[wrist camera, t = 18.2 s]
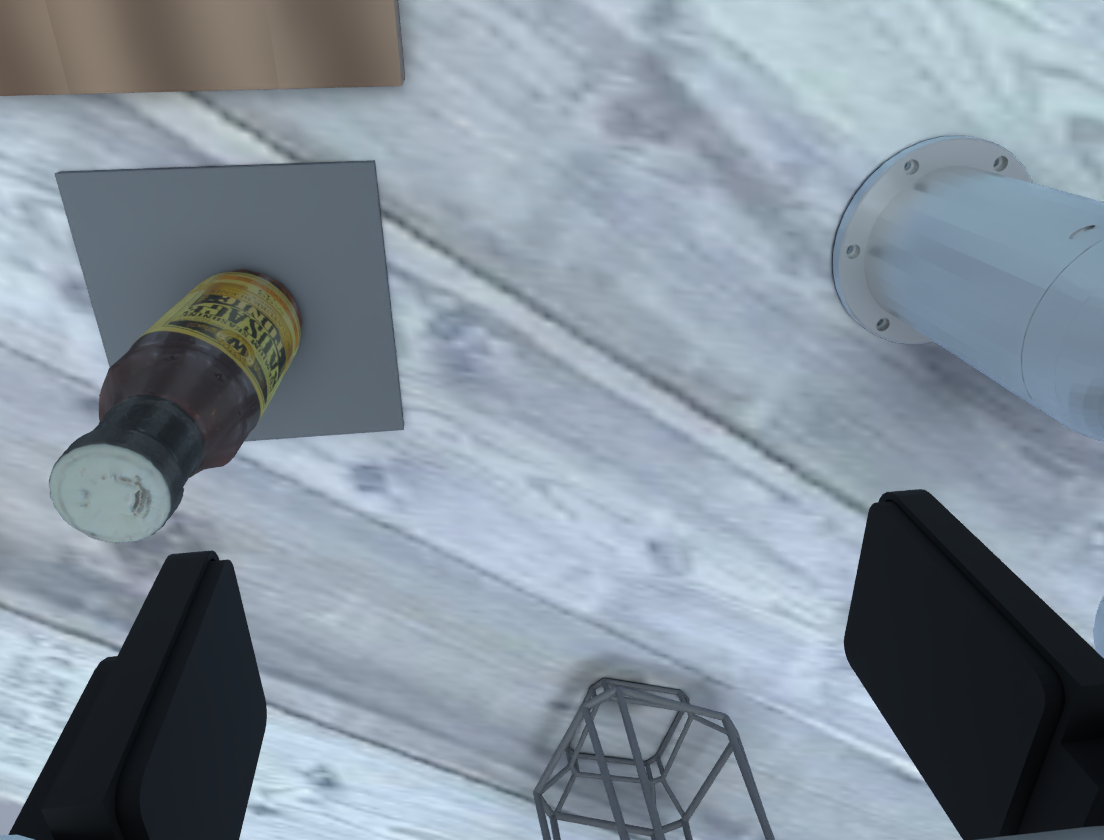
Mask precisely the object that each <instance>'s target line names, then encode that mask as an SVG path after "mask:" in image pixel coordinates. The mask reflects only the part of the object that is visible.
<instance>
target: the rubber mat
mask: <svg viewBox="0 0 1104 840" xmlns="http://www.w3.org/2000/svg"><path fill="white" fill-rule="evenodd" d="M55 177H56V181H57V184H58V188H59V191H60V195H61V198H62V202H63V205H64V209H65V212H66V216H67V219H68V223H69V226H70V230H71V233H72V237H73V240H74V244H75V247H76V251H77V254H78V258H79V261H80V265H81V268H82V272H83V275H84V279H85V282H86V286H87V289H88V293H89V296H90V300H91V303H92V307H93V310H94V314H95V317H96V321H97V324H98V328H99V331H100V335H101V338H102V342H103V345H104V349H105V352H106V356H107V359H108V363H109V366H110V367H111V366H112V365H113V364H114V363H115V362H117V361H118V360H119V359H120V358H121V357H122V356H123V355H124V354H126V353H127V352H128V351H129V349H130V348H131V346H132V345H133V344H134V342H135V341H136V340H138V339H139V338H140V337H141V336H142V335H143V334H144V333H145V332H146V331H147V330H148V329H149V328H150V327H151V326H152V325H153V324H154V323H156V322H157V321H158V320H159V319H160V318H161V317H162V316H163V315H164V314H166V313H167V312H168V311H169V310H170V309H171V308H172V307H173V306H174V305H176V304H177V303H178V302H179V301H180V300H181V299H183V298H184V297H185V296H186V295H187V294H188V293H189V292H190V291H191V290H192V289H194V288H195V287H196V286H197V285H198V284H199V283H201V282H202V281H204V280H205V279H207V278H209V277H211V276H213V275H216V274H220V273H223V272H229V271H236V270H239V269H245V270H250V271H252V272H258V273H260V274H262V275H264V276H267V277H270V278H272V279H273V280H275V281H277V282H278V283H280V284H282V285H283V287H284V288H285V289H286V291H288V292H289V293H290V294H291V296H292V298H293V300H294V301H295V304H296V305H297V308H298V310H299V313H300V316H301V319H302V327H301V336H300V342H299V347H298V350H297V353H296V355H295V356H294V358H293V360H292V362H291V364H290V366H289V368H288V370H287V371H286V373H285V375H284V377H283V378H282V380H281V382H280V384H279V386H278V388H277V389H276V391H275V393H274V395H273V397H272V399H271V400H270V402H269V404H268V406H267V408H266V410H265V411H264V413H263V415H262V417H261V419H260V420H259V422H258V424H257V425H256V427H255V428H254V429H253V430H252V431H251V432H250V433H249V435H248V436H247V438H246V439H245V441H256V440H270V439H284V438H297V437H311V436H325V435H339V434H353V433H366V432H380V431H394V430H404V422H403V413H402V404H401V395H400V386H399V377H398V368H397V359H396V350H395V341H394V332H393V323H392V313H391V304H390V295H389V286H388V277H387V268H386V259H385V250H384V241H383V232H382V223H381V214H380V204H379V195H378V186H377V177H376V168H375V161H348V162H320V163H291V164H263V165H235V166H206V167H178V168H150V169H121V170H93V171H65V172H57V173H55Z"/></svg>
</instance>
